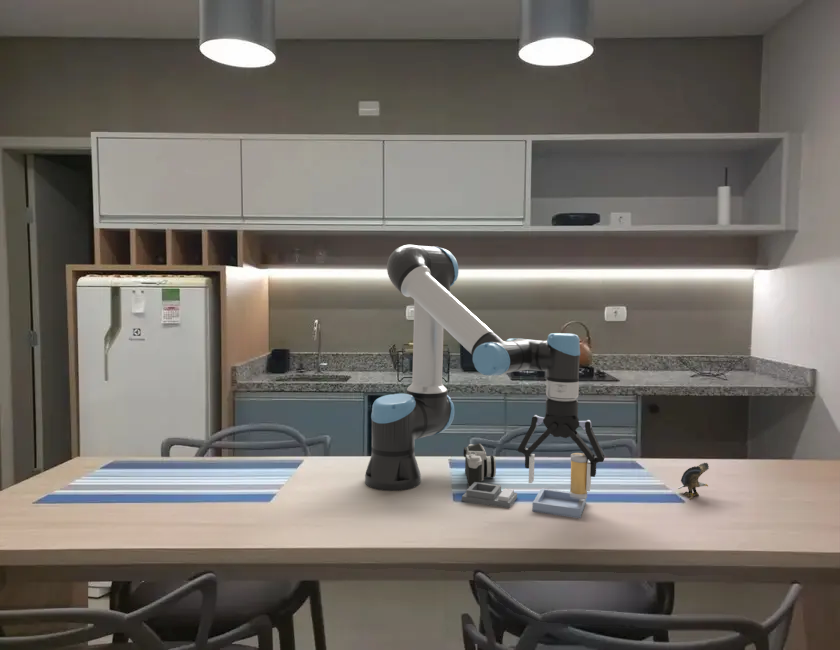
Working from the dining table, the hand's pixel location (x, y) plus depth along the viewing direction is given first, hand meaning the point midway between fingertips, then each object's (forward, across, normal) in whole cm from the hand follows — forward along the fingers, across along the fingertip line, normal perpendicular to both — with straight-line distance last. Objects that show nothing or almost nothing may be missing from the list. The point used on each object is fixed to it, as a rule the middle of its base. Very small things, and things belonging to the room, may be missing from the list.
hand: (559, 485), depth 141 cm
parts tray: (+6, 0, 0) cm, 6 cm away
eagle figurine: (+6, +30, +22) cm, 38 cm away
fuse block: (+6, -17, -2) cm, 18 cm away
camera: (+6, -24, +13) cm, 28 cm away
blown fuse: (+2, +4, 0) cm, 5 cm away
